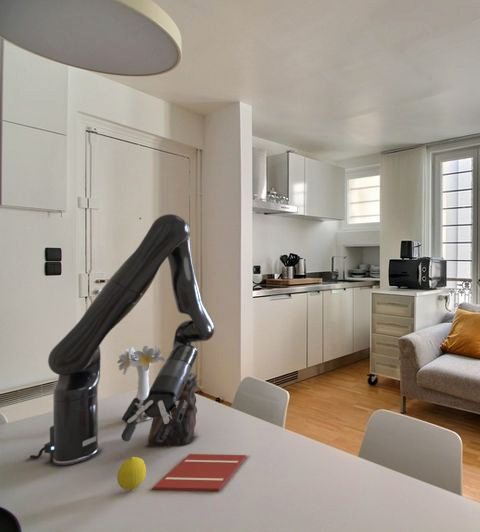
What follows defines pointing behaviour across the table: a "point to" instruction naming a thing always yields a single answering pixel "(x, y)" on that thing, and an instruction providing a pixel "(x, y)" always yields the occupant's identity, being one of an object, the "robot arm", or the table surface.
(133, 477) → the lemon
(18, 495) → the table surface
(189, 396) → the brown rock
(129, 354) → the flower vase
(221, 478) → the pot holder
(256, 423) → the table surface
